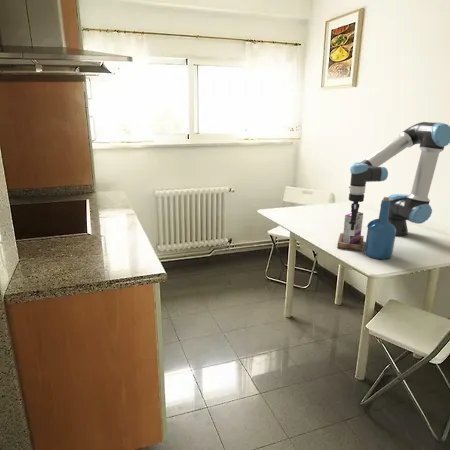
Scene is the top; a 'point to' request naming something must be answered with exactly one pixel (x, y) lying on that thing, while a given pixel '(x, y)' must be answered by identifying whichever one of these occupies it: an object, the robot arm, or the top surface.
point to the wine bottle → (381, 234)
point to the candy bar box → (358, 228)
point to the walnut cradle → (349, 246)
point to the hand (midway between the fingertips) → (352, 232)
